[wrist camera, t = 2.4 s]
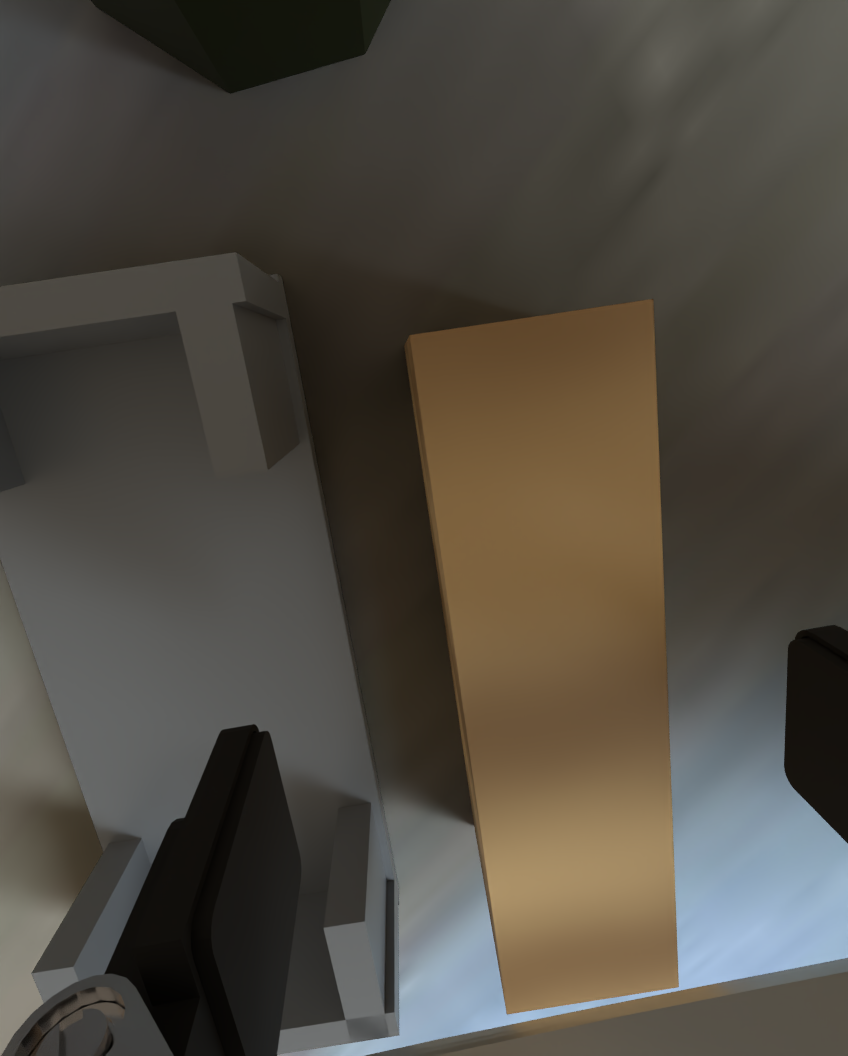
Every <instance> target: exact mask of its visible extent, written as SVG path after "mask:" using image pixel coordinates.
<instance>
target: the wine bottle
mask: <svg viewBox="0 0 848 1056" xmlns="http://www.w3.org/2000/svg"><path fill="white" fill-rule="evenodd" d="M91 1H92V2H93V3H94V5H95V6H96V7H97V8H99V9H101V10H102V11H104V12H105V13H107V14H108V15H110V16H111V17H113V18H114V19H116V20H118V21H119V22H121V23H122V24H124V25H125V26H127V27H128V28H130V29H131V30H133V31H135V32H136V33H138V34H139V35H141V36H142V37H144V38H145V39H147V40H149V41H150V42H152V43H153V44H155V45H156V46H158V47H159V48H161V49H162V50H164V51H166V52H167V53H169V54H170V55H172V56H173V57H175V58H176V59H178V60H179V61H181V62H183V63H184V64H186V65H187V66H189V67H190V68H192V69H193V70H195V71H197V72H198V73H200V74H201V75H203V76H204V77H206V78H207V79H209V80H210V81H212V82H214V83H215V84H217V85H218V86H220V87H221V88H223V89H224V90H226V91H227V92H229V93H234V92H237V91H241V90H244V89H247V88H251V87H254V86H258V85H261V84H264V83H268V82H271V81H275V80H278V79H282V78H285V77H288V76H292V75H295V74H299V73H302V72H305V71H309V70H312V69H316V68H319V67H322V66H326V65H329V64H333V63H336V62H340V61H343V60H346V59H350V58H353V57H357V56H360V55H363V54H365V53H366V51H367V49H368V47H369V45H370V43H371V40H372V38H373V36H374V34H375V32H376V30H377V28H378V26H379V24H380V22H381V19H382V17H383V15H384V13H385V11H386V9H387V7H388V5H389V3H390V1H391V0H91Z"/></svg>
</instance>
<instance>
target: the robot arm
mask: <svg viewBox="0 0 848 1056" xmlns="http://www.w3.org/2000/svg"><path fill="white" fill-rule="evenodd" d="M784 768H785V773H786V776H787V778H788V781H789V782H790V784H791V785H792V787H793V788H794V789H795V790H796V791H797V792H798V793H799V794H800V795H801V796H802V797H803V798H804V799H805V800H806V801H807V802H808V803H809V804H810V805H811V806H812V807H813V808H814V809H815V811H816V812H817V813H818V814H819V815H820V816H821V817H822V818H823V819H824V820H825V821H826V822H827V823H828V824H829V825H830V826H831V827H832V828H833V829H834V830H835V831H836V832H837V833H838V834H839V835H840V836H841V837H842V838H843V839H844V840H845V841H846V842H847V843H848V631H846V630H844V629H842V628H841V627H838V626H835V625H831V626H824V627H819V628H813V629H807V630H801V631H800V632H798V634H797V635H796V637H795V640H793V641H791V642H790V644H789V647H788V668H787V697H786V726H785V755H784ZM300 883H301V857H300V852H299V848H298V844H297V840H296V836H295V832H294V828H293V824H292V820H291V816H290V812H289V807H288V803H287V799H286V795H285V791H284V787H283V783H282V779H281V775H280V771H279V767H278V763H277V759H276V755H275V751H274V747H273V743H272V739H271V736H270V733H269V732H268V731H262V732H259V729H258V727H257V726H256V725H255V724H252V725H246V726H240V727H234V728H229V729H223V730H221V732H220V733H219V735H218V738H217V740H216V743H215V745H214V747H213V750H212V752H211V755H210V757H209V760H208V762H207V764H206V767H205V769H204V772H203V774H202V777H201V779H200V782H199V784H198V786H197V789H196V791H195V794H194V796H193V799H192V801H191V804H190V806H189V808H188V811H187V813H186V816H185V817H184V818H179V819H176V820H174V821H173V822H172V823H171V824H170V826H169V828H168V829H167V831H166V834H165V836H164V838H163V841H162V843H161V845H160V847H159V850H158V852H157V854H156V857H155V859H154V861H153V863H152V866H151V868H150V870H149V873H148V875H147V877H146V879H145V882H144V884H143V886H142V889H141V891H140V893H139V896H138V898H137V900H136V902H135V905H134V907H133V909H132V912H131V914H130V916H129V918H128V921H127V923H126V925H125V928H124V930H123V932H122V934H121V937H120V939H119V941H118V944H117V946H116V948H115V951H114V953H113V955H112V957H111V960H110V962H109V964H108V967H107V969H106V971H105V973H104V974H103V975H94V976H91V977H89V978H86V979H83V980H81V981H78V982H75V983H73V984H71V985H70V986H68V987H66V988H65V989H63V990H61V991H60V992H58V993H57V994H55V995H53V996H52V997H51V998H50V999H48V1000H47V1001H46V1002H45V1003H44V1004H43V1005H41V1006H40V1007H39V1008H38V1009H37V1010H35V1011H34V1012H33V1013H32V1014H31V1015H30V1016H29V1018H28V1019H27V1020H26V1021H25V1022H24V1023H23V1025H22V1026H21V1027H20V1028H19V1029H18V1030H17V1031H16V1033H15V1034H14V1035H13V1037H12V1039H11V1040H10V1042H9V1044H8V1045H7V1047H6V1049H5V1050H4V1052H3V1054H2V1055H1V1056H277V1051H278V1044H279V1037H280V1029H281V1022H282V1015H283V1007H284V1000H285V993H286V985H287V978H288V971H289V964H290V956H291V949H292V942H293V934H294V927H295V920H296V912H297V905H298V898H299V890H300ZM366 1056H848V958H845V959H840V960H835V961H830V962H825V963H820V964H815V965H809V966H804V967H799V968H794V969H789V970H784V971H779V972H773V973H768V974H763V975H758V976H753V977H748V978H743V979H737V980H732V981H727V982H722V983H717V984H712V985H707V986H702V987H697V988H692V989H687V990H681V991H676V992H671V993H666V994H661V995H656V996H651V997H646V998H641V999H636V1000H631V1001H626V1002H621V1003H616V1004H611V1005H606V1006H601V1007H596V1008H591V1009H586V1010H581V1011H576V1012H571V1013H566V1014H561V1015H556V1016H551V1017H547V1018H542V1019H537V1020H532V1021H527V1022H522V1023H517V1024H512V1025H507V1026H502V1027H497V1028H492V1029H487V1030H482V1031H477V1032H472V1033H468V1034H463V1035H458V1036H453V1037H448V1038H443V1039H438V1040H433V1041H429V1042H424V1043H420V1044H415V1045H411V1046H406V1047H402V1048H397V1049H393V1050H389V1051H384V1052H380V1053H375V1054H371V1055H366Z"/></svg>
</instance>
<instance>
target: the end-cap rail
mask: <svg viewBox="0 0 848 1056" xmlns="http://www.w3.org/2000/svg"><path fill="white" fill-rule="evenodd" d="M0 560H1V563H2V566H3V569H4V571H5V574H6V577H7V580H8V583H9V586H10V588H11V591H12V594H13V597H14V600H15V603H16V605H17V608H18V611H19V614H20V617H21V620H22V623H23V625H24V628H25V631H26V634H27V637H28V640H29V642H30V645H31V648H32V651H33V654H34V657H35V659H36V662H37V665H38V668H39V671H40V674H41V677H42V679H43V682H44V685H45V688H46V691H47V694H48V696H49V699H50V702H51V705H52V708H53V711H54V713H55V716H56V719H57V722H58V725H59V728H60V731H61V733H62V736H63V739H64V742H65V745H66V748H67V750H68V753H69V756H70V759H71V762H72V765H73V767H74V770H75V773H76V776H77V779H78V782H79V785H80V787H81V790H82V793H83V796H84V799H85V802H86V804H87V807H88V810H89V813H90V816H91V819H92V821H93V824H94V827H95V830H96V833H97V836H98V839H99V841H100V844H101V847H102V850H103V854H102V856H101V857H100V859H99V861H98V862H97V864H96V866H95V867H94V869H93V871H92V872H91V874H90V876H89V878H88V879H87V881H86V883H85V884H84V886H83V888H82V889H81V891H80V893H79V894H78V896H77V898H76V899H75V901H74V903H73V904H72V906H71V908H70V909H69V911H68V913H67V914H66V916H65V918H64V919H63V921H62V923H61V925H60V926H59V928H58V930H57V931H56V933H55V935H54V936H53V938H52V940H51V941H50V943H49V945H48V946H47V948H46V950H45V951H44V953H43V955H42V956H41V958H40V960H39V961H38V963H37V965H36V967H35V968H34V970H33V972H32V973H31V974H32V976H33V978H34V981H35V983H36V986H37V988H38V990H39V993H40V995H41V998H42V1000H43V1002H44V1003H45V1002H46V1001H47V1000H48V999H50V998H51V997H52V996H53V995H55V994H57V993H58V992H60V991H61V990H63V989H65V988H66V987H68V986H70V985H71V984H73V983H75V982H78V981H81V980H83V979H86V978H89V977H91V976H94V975H103V974H104V973H105V971H106V969H107V967H108V964H109V962H110V960H111V957H112V955H113V953H114V951H115V948H116V946H117V944H118V941H119V939H120V937H121V934H122V932H123V930H124V928H125V925H126V923H127V921H128V918H129V916H130V914H131V912H132V909H133V907H134V905H135V902H136V900H137V898H138V896H139V893H140V891H141V889H142V886H143V884H144V882H145V879H146V877H147V875H148V873H149V870H150V868H151V866H152V863H153V861H154V859H155V857H156V854H157V852H158V850H159V847H160V845H161V843H162V841H163V838H164V836H165V834H166V831H167V829H168V828H169V826H170V824H171V823H172V822H173V821H174V820H176V819H179V818H184V817H185V816H186V813H187V811H188V808H189V806H190V804H191V801H192V799H193V796H194V794H195V791H196V789H197V786H198V784H199V782H200V779H201V777H202V774H203V772H204V769H205V767H206V764H207V762H208V760H209V757H210V755H211V752H212V750H213V747H214V745H215V743H216V740H217V738H218V735H219V733H220V732H221V730H223V729H229V728H234V727H240V726H246V725H252V724H255V725H256V726H257V727H258V729H259V732H262V731H268V732H269V733H270V736H271V739H272V743H273V747H274V751H275V755H276V759H277V763H278V767H279V771H280V775H281V779H282V783H283V787H284V791H285V795H286V799H287V803H288V807H289V812H290V816H291V820H292V824H293V828H294V832H295V836H296V840H297V844H298V848H299V852H300V857H301V883H300V890H299V898H298V905H297V912H296V920H295V927H294V934H293V942H292V949H291V956H290V964H289V971H288V978H287V985H286V993H285V1000H284V1007H283V1015H282V1022H281V1029H280V1037H279V1044H278V1051H277V1055H278V1054H284V1053H290V1052H297V1051H303V1050H309V1049H316V1048H322V1047H328V1046H335V1045H341V1044H347V1043H354V1042H360V1041H366V1040H373V1039H379V1038H385V1037H392V1036H398V1035H399V928H398V905H399V886H398V881H397V876H396V871H395V865H394V860H393V855H392V850H391V845H390V839H389V834H388V829H387V824H386V818H385V813H384V808H383V803H382V798H381V792H380V787H379V782H378V777H377V771H376V766H375V761H374V756H373V751H372V745H371V740H370V735H369V730H368V724H367V719H366V714H365V709H364V704H363V698H362V693H361V688H360V683H359V678H358V672H357V667H356V662H355V657H354V651H353V646H352V641H351V636H350V631H349V625H348V620H347V615H346V610H345V604H344V599H343V594H342V589H341V584H340V578H339V573H338V568H337V563H336V557H335V552H334V547H333V542H332V537H331V531H330V526H329V521H328V516H327V510H326V505H325V500H324V495H323V490H322V484H321V479H320V474H319V469H318V464H317V458H316V453H315V448H314V443H313V437H312V432H311V427H310V422H309V417H308V411H307V406H306V401H305V396H304V390H303V385H302V380H301V375H300V370H299V364H298V359H297V354H296V349H295V343H294V338H293V333H292V328H291V323H290V317H289V312H288V307H287V302H286V296H285V291H284V286H283V281H282V277H281V276H279V275H278V274H272V275H267V274H266V273H265V272H263V271H262V270H260V269H259V268H258V267H256V266H255V265H253V264H252V263H251V262H249V261H248V260H246V259H245V258H244V257H242V256H241V255H239V254H238V253H237V252H233V253H226V254H219V255H212V256H205V257H199V258H192V259H185V260H178V261H171V262H164V263H157V264H150V265H143V266H136V267H130V268H123V269H116V270H109V271H102V272H95V273H88V274H81V275H74V276H68V277H61V278H54V279H47V280H40V281H33V282H26V283H19V284H12V285H6V286H0Z"/></svg>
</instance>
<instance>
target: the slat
mask: <svg viewBox="0 0 848 1056" xmlns="http://www.w3.org/2000/svg"><path fill="white" fill-rule="evenodd" d="M404 348H405V355H406V362H407V369H408V376H409V383H410V389H411V396H412V403H413V410H414V417H415V424H416V430H417V437H418V444H419V451H420V458H421V465H422V471H423V478H424V485H425V492H426V499H427V506H428V513H429V519H430V526H431V533H432V540H433V547H434V554H435V560H436V567H437V574H438V581H439V588H440V595H441V601H442V608H443V615H444V622H445V629H446V636H447V643H448V649H449V656H450V663H451V670H452V677H453V684H454V690H455V697H456V704H457V711H458V718H459V725H460V731H461V738H462V745H463V752H464V759H465V766H466V772H467V779H468V786H469V793H470V800H471V807H472V814H473V820H474V827H475V833H476V839H477V844H478V850H479V856H480V862H481V867H482V873H483V879H484V885H485V890H486V896H487V902H488V908H489V913H490V919H491V925H492V931H493V936H494V942H495V948H496V954H497V960H498V965H499V971H500V977H501V983H502V988H503V994H504V1000H505V1006H506V1011H507V1014H512V1013H519V1012H525V1011H531V1010H537V1009H544V1008H550V1007H556V1006H563V1005H569V1004H575V1003H582V1002H588V1001H594V1000H600V999H607V998H613V997H619V996H626V995H632V994H638V993H645V992H651V991H657V990H664V989H670V988H676V987H679V983H678V956H677V928H676V901H675V874H674V847H673V820H672V793H671V766H670V739H669V712H668V684H667V657H666V630H665V603H664V576H663V549H662V522H661V495H660V467H659V440H658V413H657V386H656V359H655V332H654V305H653V299H649V300H642V301H636V302H629V303H622V304H616V305H609V306H602V307H595V308H589V309H582V310H575V311H569V312H562V313H555V314H548V315H542V316H535V317H528V318H522V319H515V320H508V321H502V322H495V323H488V324H481V325H475V326H468V327H461V328H455V329H448V330H441V331H434V332H428V333H421V334H414V335H410V336H409V338H408V340H407V341H406V343H405V345H404Z"/></svg>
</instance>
